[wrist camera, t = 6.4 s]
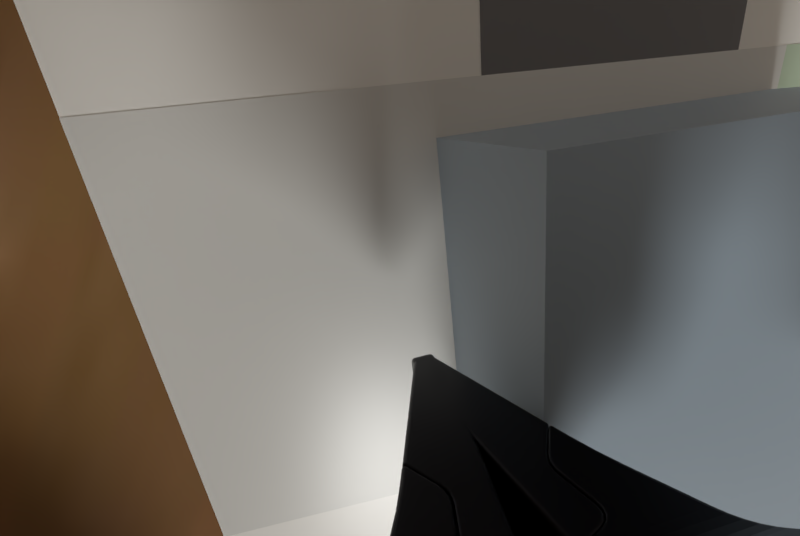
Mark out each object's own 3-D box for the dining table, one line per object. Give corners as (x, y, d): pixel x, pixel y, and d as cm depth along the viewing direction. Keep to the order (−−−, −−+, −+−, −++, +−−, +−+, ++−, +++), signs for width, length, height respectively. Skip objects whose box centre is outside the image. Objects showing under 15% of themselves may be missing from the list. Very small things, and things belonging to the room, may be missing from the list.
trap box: (275, 635, 16) (265, 745, 13) (-98, -361, 6) (-446, -764, 3) (812, 480, 19) (895, 540, 17) (1111, -299, 10) (1426, -467, 7)
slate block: (462, 438, 13) (541, 613, 8) (436, 138, 9) (546, 150, 5) (713, 375, 14) (903, 497, 10) (771, 89, 11) (1115, 61, 6)
